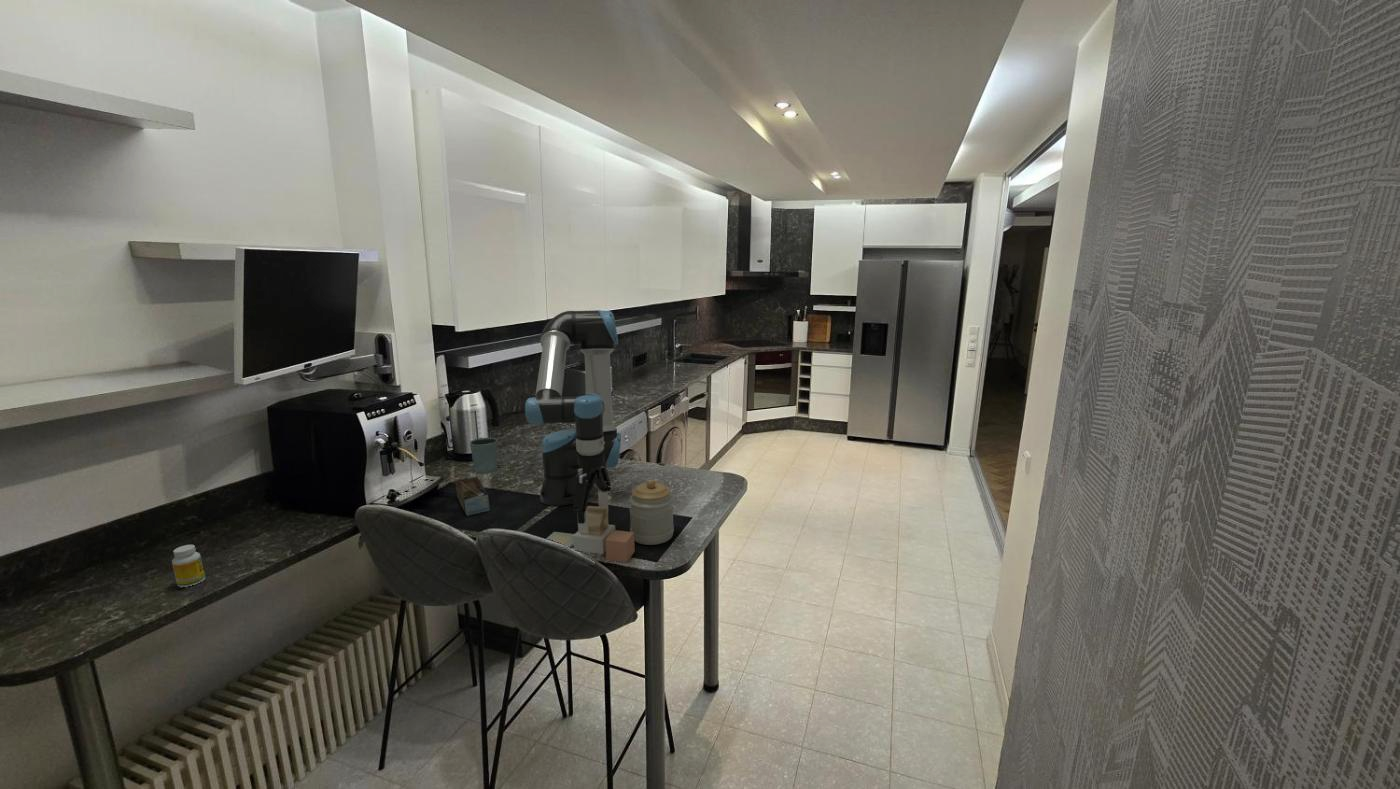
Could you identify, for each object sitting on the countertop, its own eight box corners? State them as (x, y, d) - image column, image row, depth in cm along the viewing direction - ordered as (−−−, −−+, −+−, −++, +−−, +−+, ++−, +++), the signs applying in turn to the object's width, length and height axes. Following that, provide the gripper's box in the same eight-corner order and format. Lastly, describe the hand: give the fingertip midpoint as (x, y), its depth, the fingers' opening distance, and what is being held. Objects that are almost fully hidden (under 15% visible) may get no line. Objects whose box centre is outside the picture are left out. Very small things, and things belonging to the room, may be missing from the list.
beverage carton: (464, 517, 179) (462, 498, 177) (455, 497, 195) (454, 479, 193) (490, 511, 183) (488, 492, 181) (479, 492, 199) (478, 475, 197)
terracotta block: (606, 559, 152) (605, 539, 150) (614, 549, 157) (614, 530, 156) (626, 562, 150) (626, 542, 149) (634, 551, 156) (634, 532, 155)
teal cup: (467, 472, 217) (464, 443, 215) (483, 464, 227) (481, 436, 224) (488, 475, 215) (486, 445, 212) (505, 466, 224) (502, 438, 221)
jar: (621, 538, 163) (619, 482, 160) (647, 522, 174) (646, 469, 170) (657, 550, 157) (655, 491, 153) (682, 532, 168) (681, 477, 164)
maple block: (599, 536, 155) (599, 516, 154) (580, 533, 157) (579, 514, 156) (608, 526, 161) (607, 507, 160) (589, 524, 162) (588, 505, 161)
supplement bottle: (176, 582, 141) (168, 548, 139) (204, 574, 145) (196, 540, 143) (178, 590, 138) (170, 555, 136) (207, 582, 142) (199, 547, 139)
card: (538, 547, 158) (538, 545, 158) (554, 533, 167) (554, 531, 167) (567, 551, 156) (567, 549, 156) (581, 536, 165) (581, 534, 164)
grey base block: (573, 550, 157) (572, 535, 156) (587, 535, 165) (586, 522, 164) (603, 554, 155) (602, 539, 154) (615, 539, 163) (615, 525, 162)
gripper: (583, 467, 141) (587, 544, 146) (620, 439, 165) (622, 505, 169) (556, 465, 143) (561, 540, 147) (596, 437, 166) (599, 503, 171)
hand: (594, 522), depth 158 cm, fingers open, 13 cm apart
